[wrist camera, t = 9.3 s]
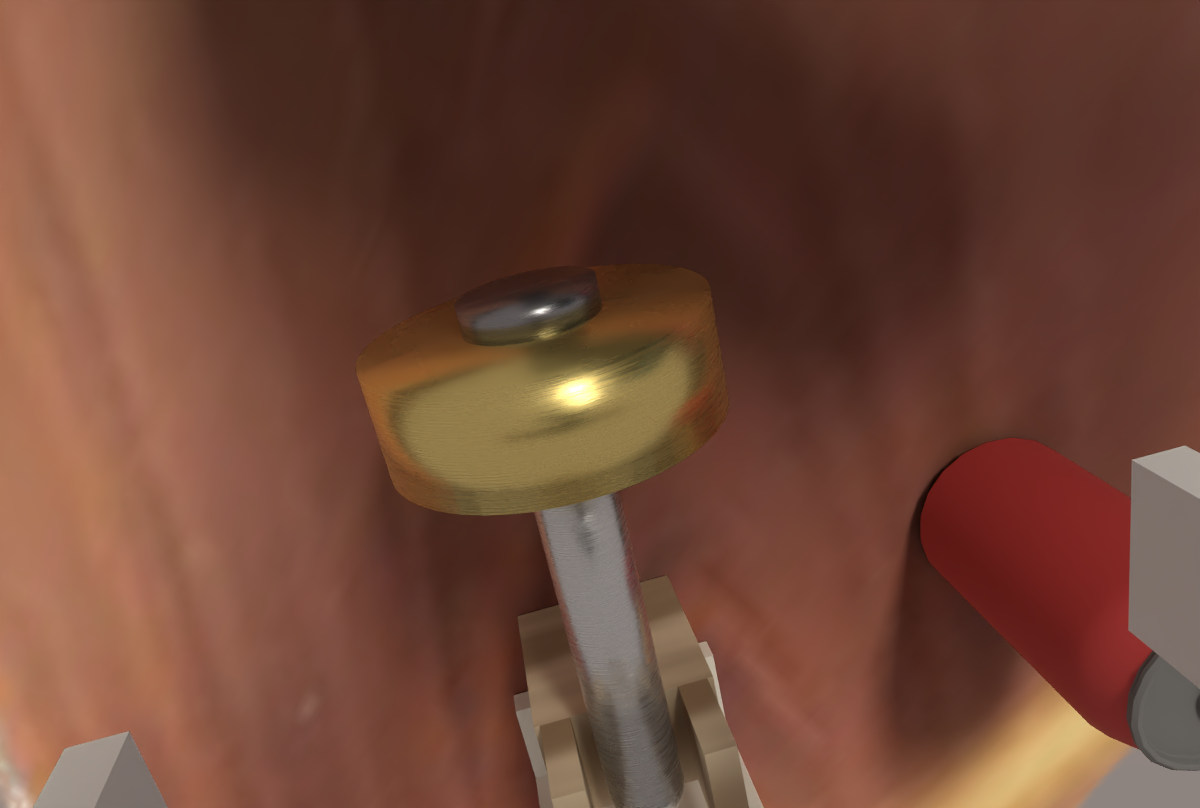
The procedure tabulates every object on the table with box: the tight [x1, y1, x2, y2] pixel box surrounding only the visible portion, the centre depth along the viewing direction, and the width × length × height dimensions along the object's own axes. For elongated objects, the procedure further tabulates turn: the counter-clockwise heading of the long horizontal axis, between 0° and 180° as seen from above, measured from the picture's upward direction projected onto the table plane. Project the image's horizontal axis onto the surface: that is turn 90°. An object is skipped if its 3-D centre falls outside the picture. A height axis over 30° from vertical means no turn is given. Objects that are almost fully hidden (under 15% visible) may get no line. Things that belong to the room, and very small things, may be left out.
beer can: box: [921, 438, 1200, 771], centre depth 32 cm, size 7×7×12 cm
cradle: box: [517, 575, 749, 808], centre depth 32 cm, size 4×6×10 cm, turn 102°
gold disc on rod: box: [356, 264, 729, 808], centre depth 26 cm, size 18×9×9 cm, turn 12°
